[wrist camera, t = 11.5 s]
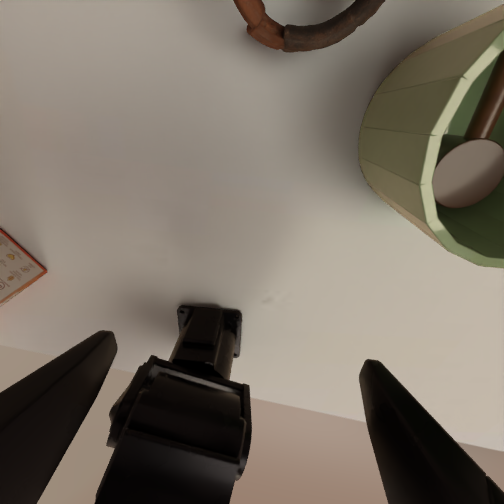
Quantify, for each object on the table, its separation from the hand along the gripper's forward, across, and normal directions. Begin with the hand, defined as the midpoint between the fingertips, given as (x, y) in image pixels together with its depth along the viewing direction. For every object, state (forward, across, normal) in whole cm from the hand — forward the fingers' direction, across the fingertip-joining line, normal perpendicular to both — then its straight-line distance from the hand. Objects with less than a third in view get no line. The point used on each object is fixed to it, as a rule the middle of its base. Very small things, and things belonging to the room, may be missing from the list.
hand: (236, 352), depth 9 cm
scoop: (+12, -12, -7) cm, 18 cm away
